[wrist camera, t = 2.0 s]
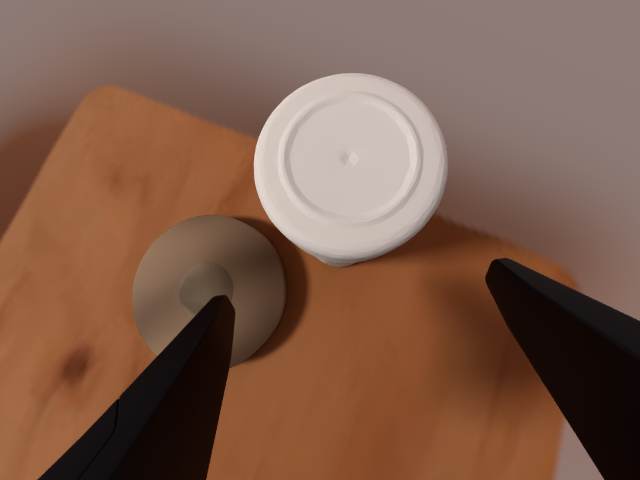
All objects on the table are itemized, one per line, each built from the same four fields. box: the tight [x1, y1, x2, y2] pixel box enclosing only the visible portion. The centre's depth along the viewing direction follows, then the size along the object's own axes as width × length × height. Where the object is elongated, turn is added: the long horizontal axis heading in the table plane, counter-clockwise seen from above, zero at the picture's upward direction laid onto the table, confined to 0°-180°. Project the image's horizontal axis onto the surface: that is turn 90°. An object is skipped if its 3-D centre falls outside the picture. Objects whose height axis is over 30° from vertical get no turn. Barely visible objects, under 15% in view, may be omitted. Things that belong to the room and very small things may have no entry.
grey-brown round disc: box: [132, 215, 287, 368], centre depth 18 cm, size 11×11×2 cm
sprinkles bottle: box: [254, 73, 448, 268], centre depth 12 cm, size 5×5×13 cm
